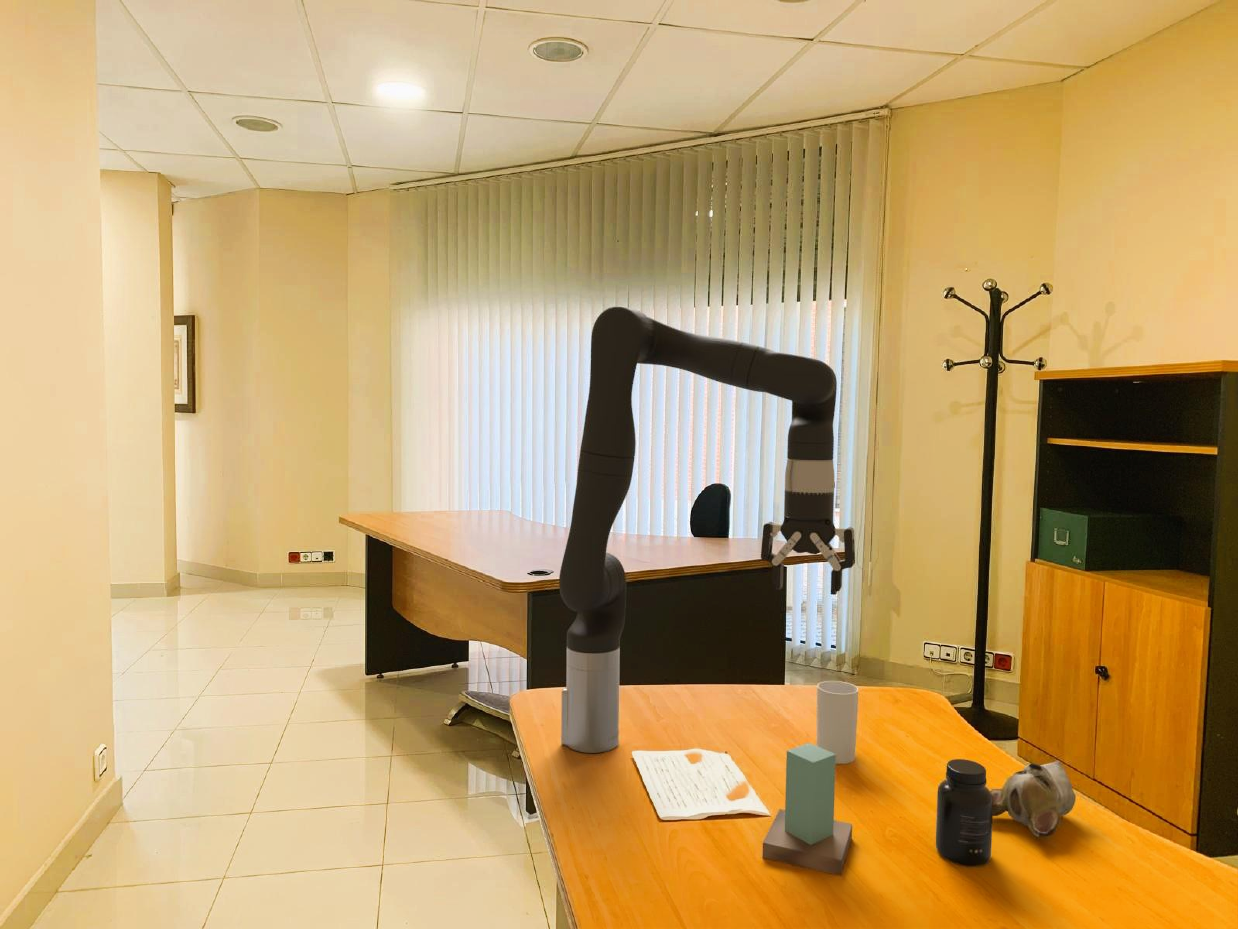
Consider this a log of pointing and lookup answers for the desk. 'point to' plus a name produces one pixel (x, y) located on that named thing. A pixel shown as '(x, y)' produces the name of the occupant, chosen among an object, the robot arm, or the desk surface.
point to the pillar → (810, 793)
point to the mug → (837, 719)
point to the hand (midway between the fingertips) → (806, 591)
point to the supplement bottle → (964, 814)
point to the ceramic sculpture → (1036, 797)
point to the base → (808, 847)
